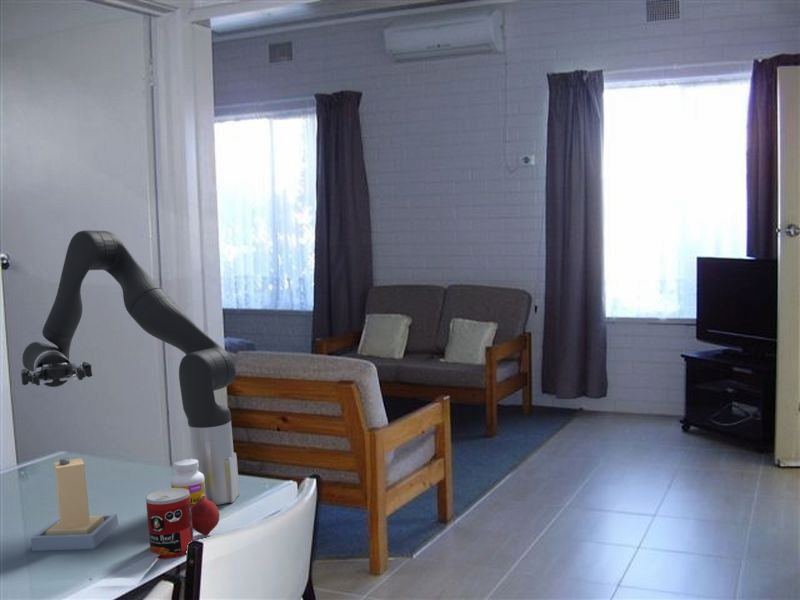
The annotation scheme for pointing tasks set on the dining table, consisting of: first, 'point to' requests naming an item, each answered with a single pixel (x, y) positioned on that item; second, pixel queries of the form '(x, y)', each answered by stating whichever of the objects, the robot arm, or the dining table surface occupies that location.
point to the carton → (72, 493)
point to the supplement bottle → (189, 479)
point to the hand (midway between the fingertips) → (59, 377)
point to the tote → (74, 536)
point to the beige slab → (84, 529)
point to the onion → (204, 515)
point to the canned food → (169, 522)
